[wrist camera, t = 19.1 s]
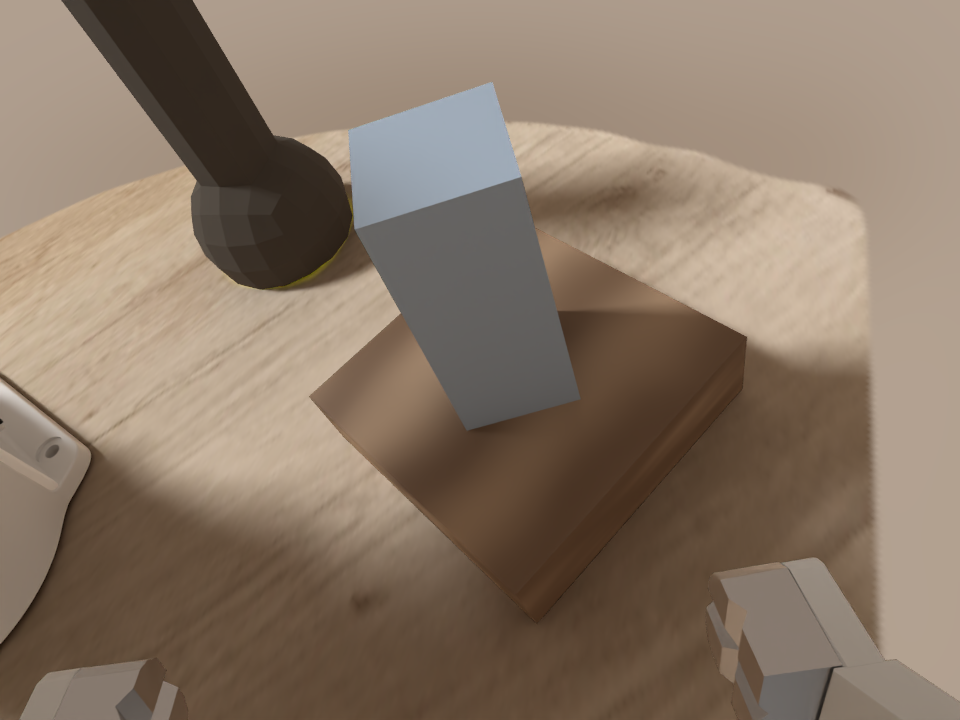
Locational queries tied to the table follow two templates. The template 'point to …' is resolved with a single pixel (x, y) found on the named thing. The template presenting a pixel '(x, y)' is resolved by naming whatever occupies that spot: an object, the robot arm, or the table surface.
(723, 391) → the block
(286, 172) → the flashlight
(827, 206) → the table surface
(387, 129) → the slate block
